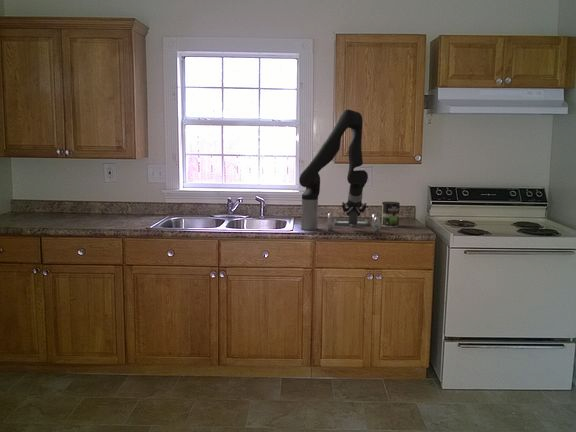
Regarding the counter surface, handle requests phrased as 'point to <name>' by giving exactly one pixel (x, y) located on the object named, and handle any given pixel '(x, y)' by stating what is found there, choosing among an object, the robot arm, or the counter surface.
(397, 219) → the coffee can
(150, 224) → the counter surface
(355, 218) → the black standoff
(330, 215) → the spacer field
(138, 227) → the counter surface
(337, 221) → the tray
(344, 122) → the robot arm
